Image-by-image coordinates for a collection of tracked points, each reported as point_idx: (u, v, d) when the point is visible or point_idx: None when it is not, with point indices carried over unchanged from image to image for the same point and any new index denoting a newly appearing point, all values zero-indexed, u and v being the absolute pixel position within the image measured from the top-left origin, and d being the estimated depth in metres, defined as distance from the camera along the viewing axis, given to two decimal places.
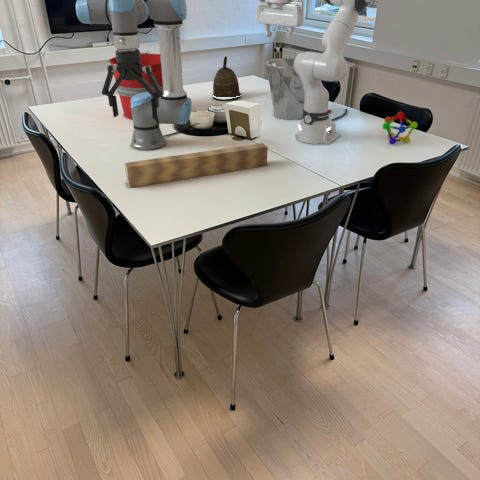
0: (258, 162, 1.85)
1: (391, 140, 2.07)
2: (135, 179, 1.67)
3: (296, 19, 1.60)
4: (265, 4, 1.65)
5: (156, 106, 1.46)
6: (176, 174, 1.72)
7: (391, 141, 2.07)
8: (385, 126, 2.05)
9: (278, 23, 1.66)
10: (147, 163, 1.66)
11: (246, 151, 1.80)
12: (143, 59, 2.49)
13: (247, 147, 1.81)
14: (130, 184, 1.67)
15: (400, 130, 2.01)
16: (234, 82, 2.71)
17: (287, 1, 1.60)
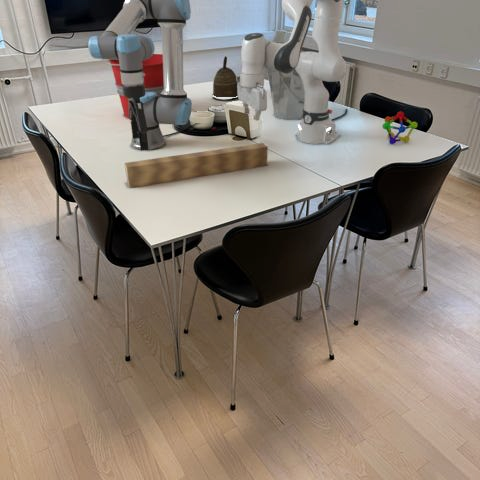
0: (258, 162, 1.85)
1: (391, 140, 2.07)
2: (135, 179, 1.67)
3: (258, 104, 1.64)
4: (240, 85, 1.72)
5: None
6: (176, 174, 1.72)
7: (391, 141, 2.07)
8: (385, 126, 2.05)
9: (248, 104, 1.71)
10: (147, 163, 1.66)
11: (246, 151, 1.80)
12: None
13: (247, 147, 1.81)
14: (130, 184, 1.67)
15: (400, 130, 2.01)
16: (234, 82, 2.71)
17: (254, 86, 1.65)
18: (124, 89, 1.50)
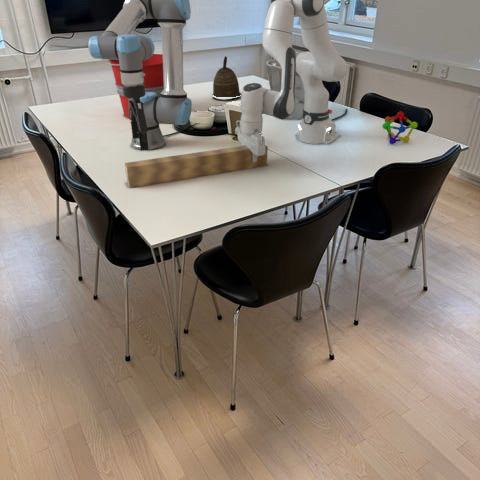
0: (258, 162, 1.85)
1: (391, 140, 2.07)
2: (135, 179, 1.67)
3: (257, 150, 1.73)
4: (240, 129, 1.82)
5: None
6: (176, 174, 1.72)
7: (391, 141, 2.07)
8: (385, 126, 2.05)
9: None
10: (147, 163, 1.66)
11: (246, 151, 1.80)
12: None
13: None
14: (130, 184, 1.67)
15: (400, 130, 2.01)
16: (234, 82, 2.71)
17: (253, 132, 1.75)
18: (124, 89, 1.50)
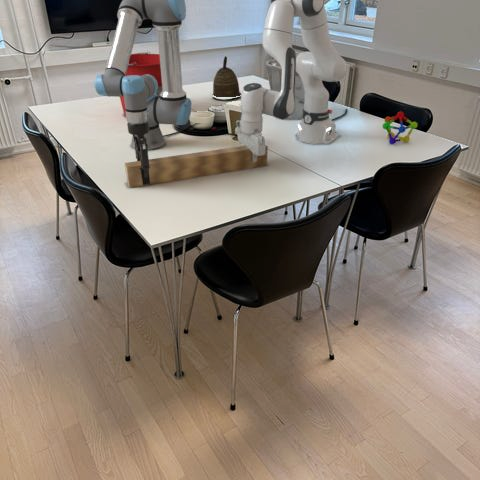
0: (258, 162, 1.85)
1: (391, 140, 2.07)
2: (135, 179, 1.67)
3: (257, 150, 1.73)
4: (240, 129, 1.82)
5: None
6: (176, 174, 1.72)
7: (391, 141, 2.07)
8: (385, 126, 2.05)
9: None
10: None
11: (246, 151, 1.80)
12: (143, 59, 2.49)
13: None
14: (130, 184, 1.67)
15: (400, 130, 2.01)
16: (234, 82, 2.71)
17: (253, 132, 1.75)
18: (129, 127, 1.57)
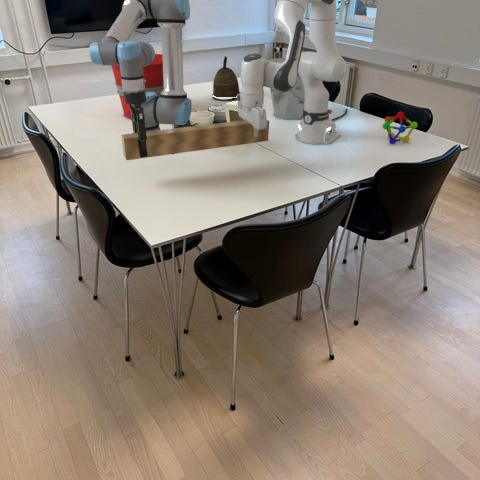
0: (259, 137, 1.79)
1: (391, 140, 2.07)
2: (132, 151, 1.61)
3: (258, 123, 1.68)
4: (241, 103, 1.76)
5: None
6: (174, 148, 1.67)
7: (391, 141, 2.07)
8: (385, 126, 2.05)
9: (249, 122, 1.75)
10: None
11: (247, 125, 1.74)
12: None
13: None
14: (127, 156, 1.61)
15: (400, 130, 2.01)
16: (234, 82, 2.71)
17: (254, 105, 1.69)
18: (125, 95, 1.51)
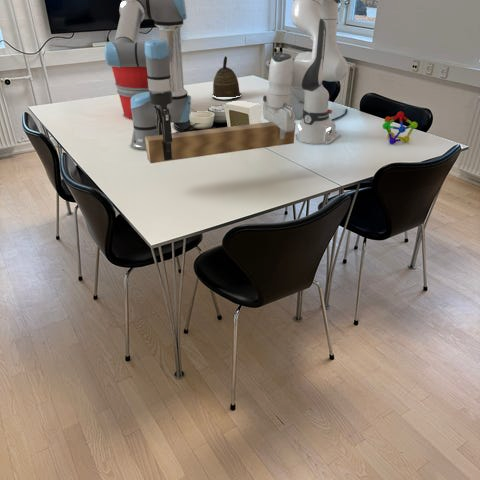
0: (285, 140, 1.74)
1: (391, 140, 2.07)
2: (157, 154, 1.55)
3: (285, 125, 1.62)
4: (267, 104, 1.71)
5: None
6: (199, 150, 1.61)
7: (391, 141, 2.07)
8: (385, 126, 2.05)
9: None
10: None
11: (273, 127, 1.69)
12: None
13: None
14: (151, 159, 1.56)
15: (400, 130, 2.01)
16: (234, 82, 2.71)
17: (281, 106, 1.64)
18: (151, 96, 1.46)
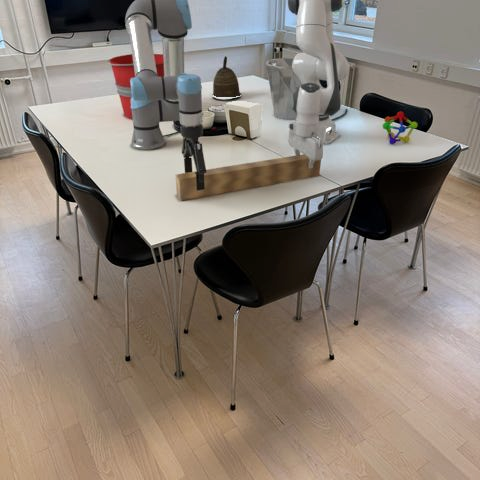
0: (311, 173, 1.75)
1: (391, 140, 2.07)
2: (187, 191, 1.57)
3: (314, 154, 1.63)
4: (293, 132, 1.71)
5: None
6: (228, 186, 1.63)
7: (391, 141, 2.07)
8: (385, 126, 2.05)
9: (302, 152, 1.70)
10: None
11: (300, 161, 1.71)
12: None
13: (301, 157, 1.72)
14: (181, 197, 1.58)
15: (400, 130, 2.01)
16: (234, 82, 2.71)
17: (309, 135, 1.64)
18: (183, 129, 1.46)
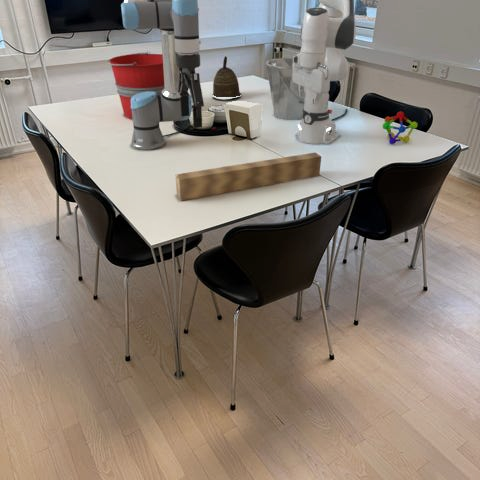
0: (311, 173, 1.75)
1: (391, 140, 2.07)
2: (187, 191, 1.57)
3: (320, 86, 1.50)
4: (298, 66, 1.58)
5: None
6: (228, 186, 1.63)
7: (391, 141, 2.07)
8: (385, 126, 2.05)
9: (307, 87, 1.57)
10: (199, 175, 1.57)
11: (300, 161, 1.71)
12: (143, 59, 2.49)
13: (301, 157, 1.72)
14: (181, 197, 1.58)
15: (400, 130, 2.01)
16: (234, 82, 2.71)
17: (315, 66, 1.51)
18: (178, 58, 1.35)
